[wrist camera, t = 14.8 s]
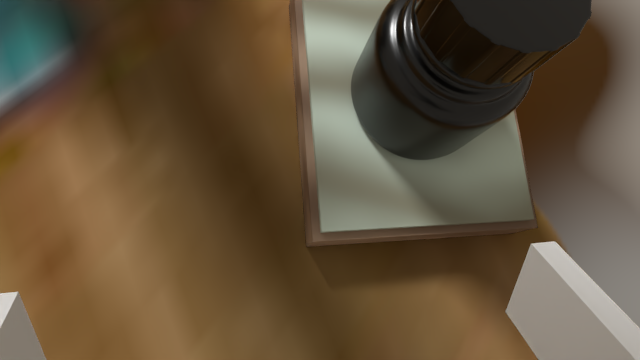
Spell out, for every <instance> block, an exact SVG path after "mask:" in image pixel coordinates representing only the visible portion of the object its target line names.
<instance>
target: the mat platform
mask: <svg viewBox="0 0 640 360" xmlns="http://www.w3.org/2000/svg"><path fill="white" fill-rule="evenodd" d="M389 2H390V0H290V4H289V14H290V28H291V42H292V56H293V70H294V84H295V98H296V111H297V125H298V139H299V153H300V167H301V181H302V195H303V209H304V223H305V237H306V247H309V246H325V245H340V244H356V243H371V242H387V241H402V240H417V239H433V238H448V237H464V236H479V235H495V234H510V233H516V232H520V231H525V230H529V229H533V228H538V226H537V220H536V215H535V210H534V205H533V199H532V194H531V189H530V185H529V178H528V173H527V168H526V163H525V158H524V152H523V148H522V142H521V137H520V131H519V126H518V121H517V116H516V110H514V111H512V112H511V113H510V114H509V115H508V116H507V117H505V118H504V119H502V120H501V121H500V122H498V123H497V124H495V125H494V126H492V127H491V128H489V129H488V130H486V131H485V132H483V133H482V134H480V135H479V136H477V137H476V138H474V139H473V140H471V141H470V142H468V143H467V144H466V145H464V146H463V147H461V148H460V149H458V150H456V151H455V152H453V153H451V154H449V155H446V156H443V157H440V158H436V159H430V160H412V159H407V158H403V157H400V156H397V155H395V154H393V153H391V152H389V151H387V150H386V149H384V148H383V147H382V146H380V145H379V144H378V143H377V142H376V141H375V140H374V139H373V138H372V137H371V136H370V135H369V134H368V133H367V131H366V130H365V129H364V127H363V126H362V124H361V122H360V121H359V119H358V117H357V114H356V112H355V109H354V106H353V102H352V97H351V79H352V74H353V71H354V68H355V66H356V63H357V61H358V59H359V57H360V55H361V53H362V51H363V49H364V47H365V45H366V43H367V41H368V39H369V37H370V35H371V33H372V31H373V29H374V27H375V24H376V22H377V20H378V18H379V17H380V15H381V13H382V11H383V10H384V8H385V7H386V5H387V4H388V3H389Z"/></svg>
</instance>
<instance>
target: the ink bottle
mask: <svg viewBox="0 0 640 360" xmlns="http://www.w3.org/2000/svg"><path fill="white" fill-rule="evenodd" d="M590 16H591V0H390V2H389V3H388V4H387V5H386V7H385V8H384V10H383V11H382V13H381V15H380V17H379V18H378V20H377V22H376V24H375V27H374V29H373V31H372V33H371V35H370V37H369V39H368V41H367V43H366V45H365V47H364V49H363V51H362V53H361V55H360V57H359V59H358V61H357V63H356V66H355V68H354V71H353V74H352V79H351V97H352V102H353V106H354V109H355V112H356V114H357V117H358V119H359V121H360V122H361V124H362V126H363V127H364V129H365V130H366V131H367V133H368V134H369V135H370V136H371V137H372V138H373V139H374V140H375V141H376V142H377V143H378V144H379V145H380V146H382V147H383V148H384V149H386V150H387V151H389V152H391V153H393V154H395V155H397V156H400V157H403V158H407V159H412V160H430V159H436V158H440V157H443V156H446V155H449V154H451V153H453V152H455V151H456V150H458V149H460V148H461V147H463V146H464V145H466V144H467V143H468V142H470V141H471V140H473V139H474V138H476V137H477V136H479V135H480V134H482V133H483V132H485V131H486V130H488V129H489V128H491V127H492V126H494V125H495V124H497V123H498V122H500V121H501V120H502V119H504V118H505V117H507V116H508V115H509V114H510V113H511V112H512V111H514V110H515V109H516V107H517V106H518V105H519V104H520V103H521V101H522V100H523V99H524V97H525V95H526V94H527V91H528V90H529V88H530V85H531V82H532V78H533V73H534V71H535V70H536V69H537V68H539V67H540V66H541V65H543V64H544V63H545V62H546V61H548V60H549V59H550V58H552V57H553V56H554V55H556V54H557V53H558V52H559V51H561V50H562V49H563V48H564V47H566V46H567V45H568V44H570V43H571V42H572V41H574V40H575V39H576V38H578V37H579V35H580V32H581V30H582V29H583V27H584V25H585V23H586V22H587V20H588V19H589V18H590Z"/></svg>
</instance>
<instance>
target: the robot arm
mask: <svg viewBox="0 0 640 360" xmlns="http://www.w3.org/2000/svg"><path fill="white" fill-rule="evenodd" d="M505 312H506V313H507V315H508V316H509V318H510V319H511V321H512V322H513V323H514V325H515V326H516V328H517V329H518V331H519V332H520V334H521V335H522V336H523V338H524V339H525V341H526V342H527V344H528V345H529V347H530V348H531V349H532V351H533V352H534V354H535V355H536V357H537V358H538V360H640V328H639V327H638V326H637V325H636V324H635V323H634V322H633V321H632V320H631V319H630V318H629V317H628V316H627V315H626V314H625V313H624V312H623V311H622V310H621V309H620V308H619V307H618V306H617V305H616V304H615V303H614V301H613V300H612V299H611V298H610V297H608V295H607V294H606V293H605V292H604V291H603V290H602V289H601V288H600V287H599V286H598V285H597V284H596V283H595V282H594V281H593V280H592V279H591V278H590V277H589V276H588V275H587V274H586V273H585V272H584V271H583V270H582V269H581V268H580V266H579V265H578V264H577V263H576V262H575V261H574V260H573V259H572V258H571V257H570V256H569V255H568V254H567V253H566V252H565V251H564V250H563V249H562V248H561V247H560V246H559V245H558V244H557V243H556V242H555V241H553V242H542V243H532V244H531V245H530V248H529V250H528V253H527V256H526V258H525V261H524V264H523V266H522V269H521V272H520V274H519V277H518V280H517V282H516V285H515V287H514V290H513V293H512V295H511V298H510V301H509V303H508V306H507V309H506V311H505ZM0 360H46V358H45V355H44V353H43V350H42V348H41V346H40V343H39V341H38V338H37V336H36V334H35V331H34V329H33V326H32V324H31V321H30V319H29V317H28V314H27V312H26V309H25V307H24V304H23V302H22V300H21V297H20V295H19V292H11V293H0Z"/></svg>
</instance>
